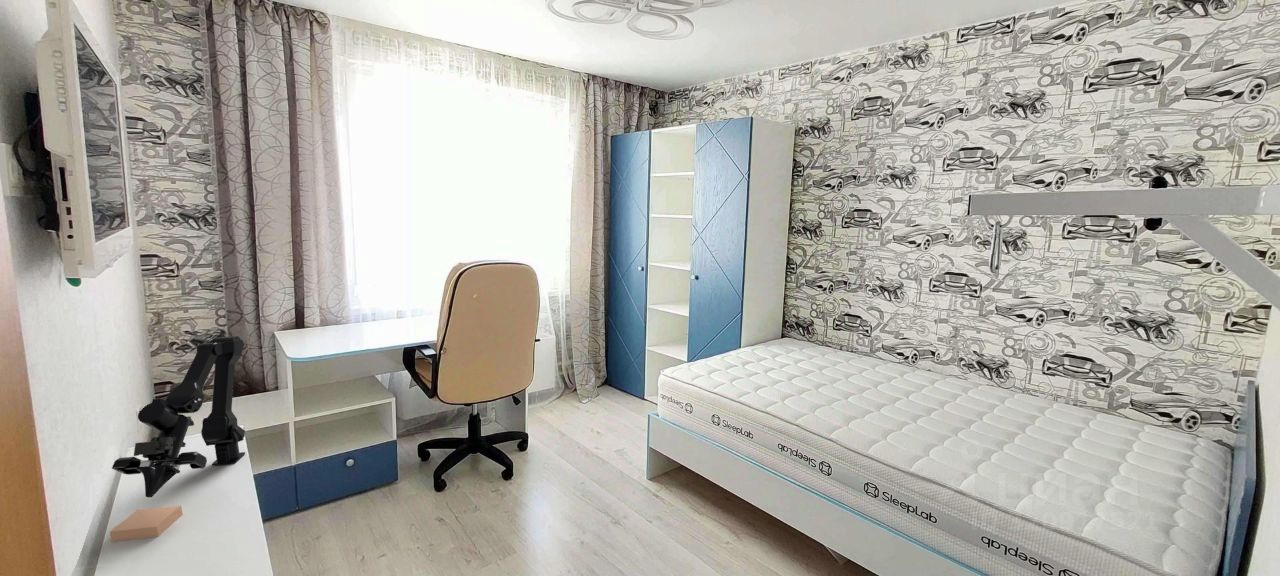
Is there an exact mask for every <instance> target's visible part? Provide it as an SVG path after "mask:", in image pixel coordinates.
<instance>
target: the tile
mask: <svg viewBox="0 0 1280 576" xmlns="http://www.w3.org/2000/svg"><path fill="white" fill-rule="evenodd" d="M182 516H183V510H182V505H174V506H173V505H172V506H163V507H153V508H143V509H141V508H140V509H136V510H135V511H134V512H133V513H131V514H130V515H129V516H127V517H126V518H125V519H123V521H121V522H120V523H119V524H118V525H116V526H114V527H113V528H112V529H111V530H109V536H110V540H111V542H119V541H127V540H136V539H137V540H138V539H147V538H155V537H160V536H161V535H162V534H163V533H164V532H165V531H167V529H169V528H170V527H171V526H172V525H173V524H174V523H175V522H177V521H178V520H179V519H180V518H182Z"/></svg>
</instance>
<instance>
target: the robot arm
mask: <svg viewBox="0 0 1280 576" xmlns="http://www.w3.org/2000/svg"><path fill="white" fill-rule="evenodd" d="M244 347H245V342H244V340H243V339H241V338H240V337H239V336H236V335H233V336H221V337H220V336H219V337H218V336H216V337H213V338H212V340H209V341H205V342H203V343H201V344H199V345H198V346H197V347H196V354H195V356H194V358H193V360H192V362H191V364H190V366H189V367H188V370H187V371H186V374H185V375H184V378H183V379H182V381H181V382H180V384H178V385H177V386H176V387H174V388H173V389H171V391H170V393H169V394H168V395H167V396H166V398H165V399H164V398H161V397H160V398H153V399H152V401H151V402H150V403H148V404H146V405H145V406H143V407H142V408H141V410H139V411H138V414H137V419H138V421H139V422H141V423H143V425H145V426H148V427H149V428H151V429H153V430H155V431H158V433H157V436H156V437H152V438H151V439H150V441H143V442H135V444H134V450H133V451H134V452H133V456H129V457H128V456H126V457H118V459H116V460H114V462H113V464H112V467H111V469H112V470H114V471H117V472H118V473H121V474H124V475H140V474H142V476H143V479H144V490H145V497H146V498H153V496H154V495H155V494H156V493H157V492H158V491H160V489H161V488H163V486H164V485H165V484H166V483H168V482H169V480H171V479H172V478H173V477H174V476H175V475H177V474H180V473H181V470H180V468H181V466H182V465H189V467H190V468H191V469H192V470H195V469H205V468H206V465H207V462H208V460H207V459H208V458H207V457H206V456H205V455H203V454H202V453H200V452H198V451H188V452H181V448H184V447H186V444H187V443H186V442H185V441H184V440H185V437H186V435H187V431H188V429H189V427H193V426H194V425H195V423H194V422H195V421H193V419H192V417H191V415H189V416H186V415H185V414H193V413H197V412H199V410H201V407H202V405H203V403H204V399H205V394H204V391H203V390H204V389H203V388H204V386H205V383H206V381H207V379H208V377H209V375H210V373H211V370H212V369H213V366H214V376H213V389H212V400H211V412H210V413H209V415H208V416H207V417H204V418H203V419H202V423H201V424H202V427H201V430H200V431H201V437H202V438H201V439H202V440H203V442H204V443H205V445H206V446H214V450H215V456H216V457H215V458H216V460H214V461H213V462H212V463H211V466H220V465H231V464H236V463H237V462H238V461H239V460H241V458H242V457H244V456H245V455H246V452H244V451H243V452H241V451H240V448H239V442H242V441H244V439H245V436H246V430H245V428H242V427H241V426H239V425H238V418H237V417H236V415H235V414H234V412H233V410H232V406H233V396H234V395H233V394H234V393H233V392H234V379H235V377H234V376H235V367H236V364H237V362H238V361H239V359H241V357H242V354H243V351H244ZM137 456H141V457H142V458H144V460H142V459H140V458H137ZM145 459H146V460H145Z"/></svg>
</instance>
